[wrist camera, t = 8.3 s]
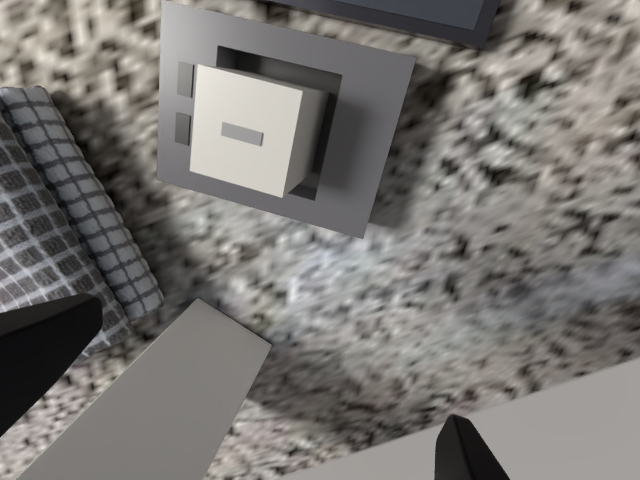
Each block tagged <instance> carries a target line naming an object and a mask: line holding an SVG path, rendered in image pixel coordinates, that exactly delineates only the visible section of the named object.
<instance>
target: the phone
mask: <svg viewBox="0 0 640 480" xmlns="http://www.w3.org/2000/svg"><path fill="white" fill-rule="evenodd" d="M252 1H257V2H261V3H266V4H271V5H275V6H280V7H284V8H289V9H293V10H298V11H302V12H307V13H311V14H316V15H320V16H325V17H329V18H334V19H338V20H343V21H347V22H352V23H357V24H361V25H366V26H370V27H375V28H379V29H384V30H388V31H393V32H397V33H402V34H406V35H411V36H415V37H420V38H424V39H429V40H433V41H438V42H443V43H447V44H452V45H456V46H461V47H465V48H470V49H474V50H480V49H482V48H483V47H484V45H485V42H486V39H487V36H488V33H489V31H490V28H491V25H492V22H493V20H494V17H495V14H496V11H497V8H498V6H499V3H500V0H252Z"/></svg>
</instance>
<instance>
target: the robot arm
mask: <svg viewBox="0 0 640 480" xmlns="http://www.w3.org/2000/svg"><path fill="white" fill-rule="evenodd" d="M102 326H103V305H102V300H101V298H100V297H98V296H95V295H92V294H89V293H80V294H76V295H72V296H68V297H64V298H60V299H55V300H51V301H47V302H43V303H39V304H35V305H31V306H27V307H22V308H18V309H14V310H10V311H6V312H2V313H0V437H1V436H2V435H3V434H4V433H5V432H6V431H7V430H8V429H9V428H10V427H11V426H12V425H13V424H14V423H16V422H17V421H18V420H19V419H20V418H21V417H22V416H23V415H24V414H25V413H26V412H27V411H28V410H29V409H30V408H31V407H32V406H33V405H34V404H35V403H36V402H37V401H38V400H39V399H40V398H41V397H42V396H43V395H44V394H45V393H46V392H47V391H48V390H49V389H50V388H51V387H52V386H53V385H54V384H55V383H56V382H57V381H58V380H59V378H60V377H61V376H62V375H63V374H64V373H65V372H66V371H67V369H68V368H69V367H70V366H71V365H72V363H73V362H74V361H75V360H76V359H77V358H78V356H79V355H80V354H81V353H82V352H83V351H84V349H85V348H86V347H87V346H88V345H89V343H90V342H91V341H92V340H93V339H94V338H95V336H96V335H97V334H98V333H99V332H100V330H101V328H102ZM435 452H436V453H435V479H434V480H510V479H509V477H508V476H507V474H506V473H505V471H504V470H503V468H502V467H501V465H500V464H499V462H498V461H497V459H496V458H495V456H494V455H493V454H492V452H491V451H490V449H489V448H488V446H487V445H486V443H485V442H484V440H483V439H482V437H481V436H480V434H479V433H478V431H477V430H476V428H475V427H474V425H473V424H472V422H471V421H470V420H469V419H467V418H464V417H461V416H458V415H455V414H451V415H449V417H448V418H447V420H446V422H445V424H444V426H443V428H442V430H441V431H440V433H439V435H438V438H437V441H436V450H435Z"/></svg>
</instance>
